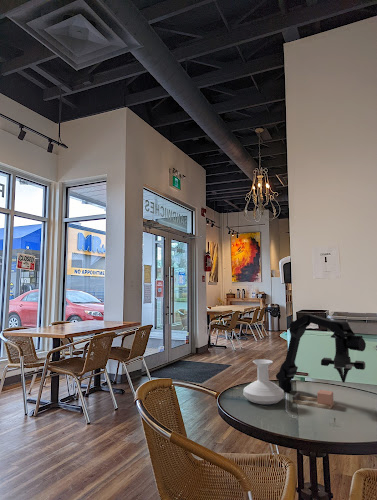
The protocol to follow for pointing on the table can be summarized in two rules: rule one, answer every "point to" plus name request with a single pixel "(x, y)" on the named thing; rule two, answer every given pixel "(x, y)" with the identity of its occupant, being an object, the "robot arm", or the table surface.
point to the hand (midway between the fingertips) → (343, 382)
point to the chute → (296, 400)
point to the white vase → (263, 386)
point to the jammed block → (325, 397)
